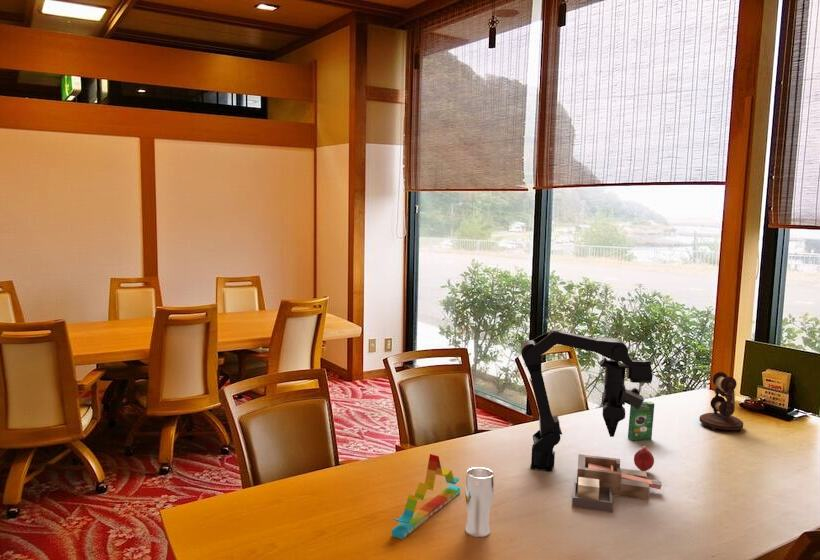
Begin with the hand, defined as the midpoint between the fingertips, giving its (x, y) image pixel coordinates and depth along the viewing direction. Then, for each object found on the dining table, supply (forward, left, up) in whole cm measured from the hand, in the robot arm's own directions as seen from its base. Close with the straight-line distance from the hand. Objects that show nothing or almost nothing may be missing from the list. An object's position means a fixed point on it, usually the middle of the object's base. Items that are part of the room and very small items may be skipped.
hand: (611, 431), depth 197 cm
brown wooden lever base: (0, -12, -12) cm, 17 cm away
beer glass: (-32, -49, -13) cm, 60 cm away
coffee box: (+11, +33, -13) cm, 37 cm away
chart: (-46, -43, -13) cm, 65 cm away
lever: (+4, -11, -10) cm, 15 cm away
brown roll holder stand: (+41, +57, -13) cm, 71 cm away
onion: (+10, +3, -13) cm, 16 cm away
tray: (-5, -23, -12) cm, 27 cm away
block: (-6, -23, -12) cm, 26 cm away
